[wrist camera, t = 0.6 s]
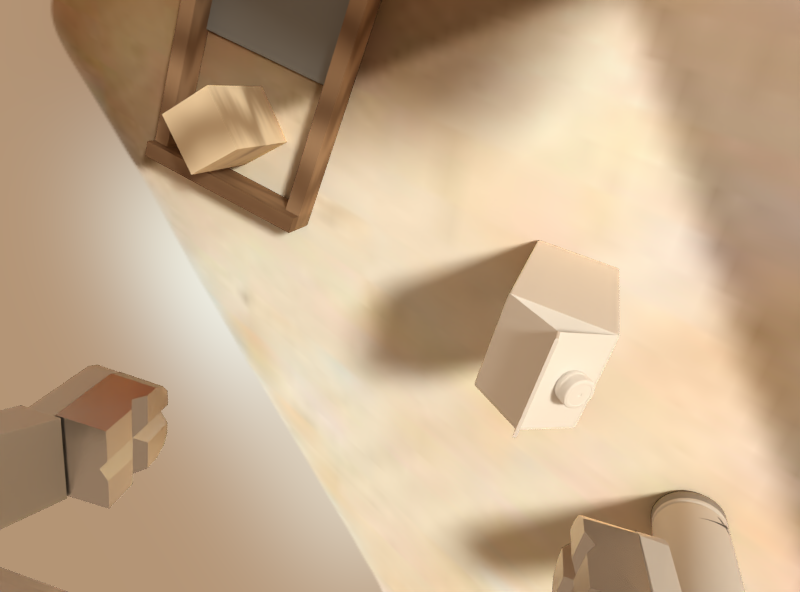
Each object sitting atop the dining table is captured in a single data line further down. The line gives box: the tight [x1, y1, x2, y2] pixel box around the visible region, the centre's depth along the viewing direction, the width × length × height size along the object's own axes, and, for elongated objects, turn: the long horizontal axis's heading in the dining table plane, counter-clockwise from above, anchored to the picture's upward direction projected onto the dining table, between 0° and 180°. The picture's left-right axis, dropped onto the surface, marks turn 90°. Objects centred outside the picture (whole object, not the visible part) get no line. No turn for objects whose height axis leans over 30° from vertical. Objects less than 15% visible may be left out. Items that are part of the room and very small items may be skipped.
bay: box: [145, 0, 381, 233], centre depth 51 cm, size 24×17×4 cm
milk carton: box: [475, 240, 620, 438], centre depth 41 cm, size 7×7×19 cm
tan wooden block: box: [162, 85, 287, 175], centre depth 51 cm, size 6×6×8 cm
